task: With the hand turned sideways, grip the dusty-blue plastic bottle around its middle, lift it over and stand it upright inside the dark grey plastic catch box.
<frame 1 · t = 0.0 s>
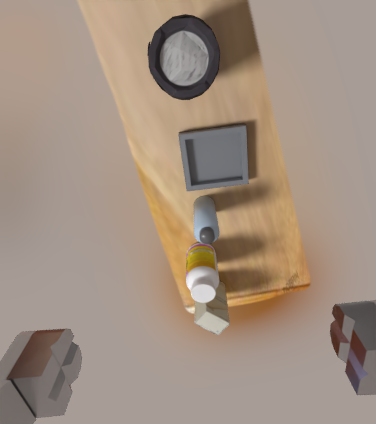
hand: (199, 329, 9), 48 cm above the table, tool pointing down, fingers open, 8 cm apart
portable speaker: (186, 60, 48), on the table
blue bottle: (204, 205, 61), on the table
supplement bottle: (201, 253, 66), on the table
skincare box: (209, 283, 70), on the table
catch box: (214, 157, 56), on the table
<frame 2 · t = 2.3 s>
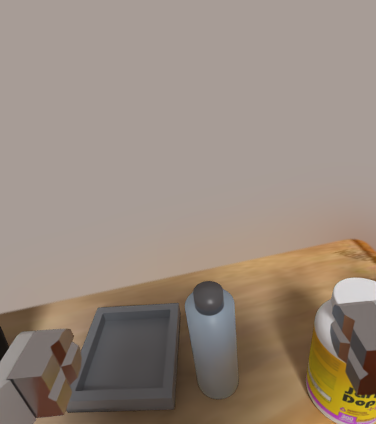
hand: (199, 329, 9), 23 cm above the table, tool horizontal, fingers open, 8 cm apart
blue bottle: (217, 377, 31), on the table
supplement bottle: (341, 394, 29), on the table
catch box: (131, 356, 35), on the table
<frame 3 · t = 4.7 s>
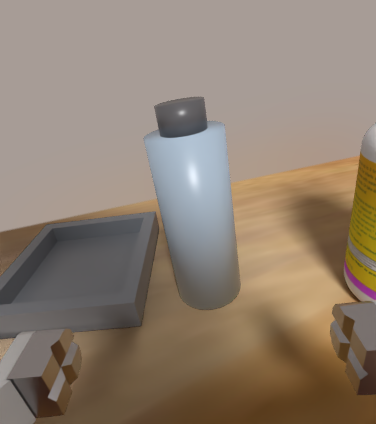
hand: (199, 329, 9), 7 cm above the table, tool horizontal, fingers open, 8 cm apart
blue bottle: (209, 285, 21), on the table
catch box: (86, 273, 24), on the table
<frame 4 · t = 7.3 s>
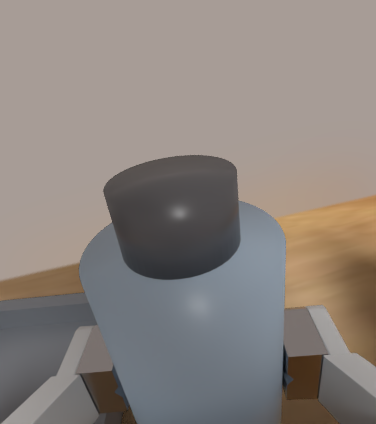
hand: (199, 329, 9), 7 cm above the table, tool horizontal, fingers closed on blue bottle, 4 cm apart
catch box: (20, 408, 15), on the table
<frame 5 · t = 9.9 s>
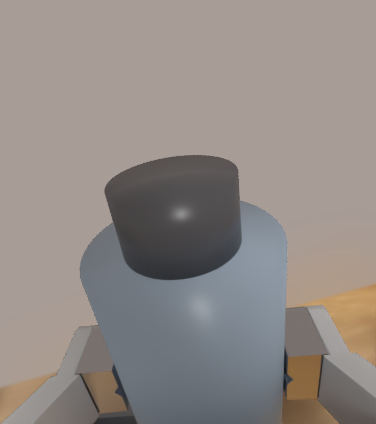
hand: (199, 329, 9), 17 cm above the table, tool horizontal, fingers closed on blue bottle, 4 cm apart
when the fingers open (9 cm above the table, at t = 12.7 s): blue bottle drops 1 cm, resting on catch box.
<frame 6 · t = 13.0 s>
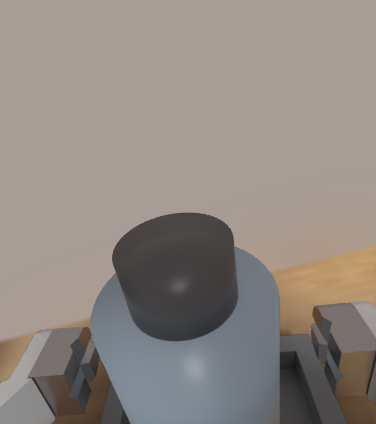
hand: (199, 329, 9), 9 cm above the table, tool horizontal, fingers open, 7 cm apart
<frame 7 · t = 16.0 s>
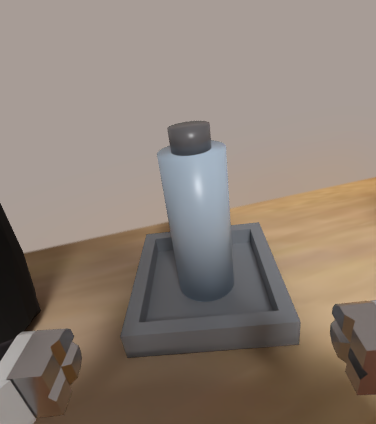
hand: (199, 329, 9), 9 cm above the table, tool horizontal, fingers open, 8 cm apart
blue bottle: (206, 281, 24), point 1 cm above the table, touching catch box
catch box: (206, 286, 24), on the table
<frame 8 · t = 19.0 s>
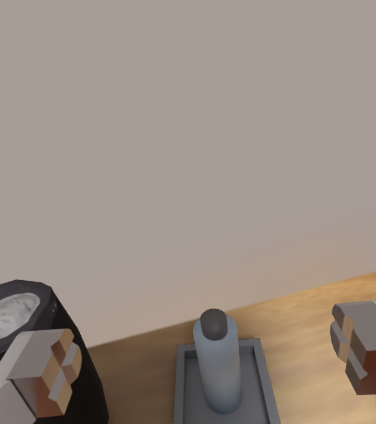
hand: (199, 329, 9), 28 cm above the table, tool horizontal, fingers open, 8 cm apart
blue bottle: (223, 394, 34), point 1 cm above the table, touching catch box
catch box: (223, 396, 34), on the table
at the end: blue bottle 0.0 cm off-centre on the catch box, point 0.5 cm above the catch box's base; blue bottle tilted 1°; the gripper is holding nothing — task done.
